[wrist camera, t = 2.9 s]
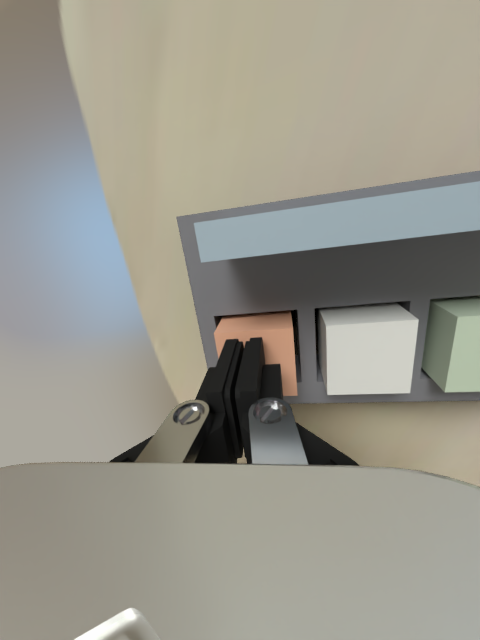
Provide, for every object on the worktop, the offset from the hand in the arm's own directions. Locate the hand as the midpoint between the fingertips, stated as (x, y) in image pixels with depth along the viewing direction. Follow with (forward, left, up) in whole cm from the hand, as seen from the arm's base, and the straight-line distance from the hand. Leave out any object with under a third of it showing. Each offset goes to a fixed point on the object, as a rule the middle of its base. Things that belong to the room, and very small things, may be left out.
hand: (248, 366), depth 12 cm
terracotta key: (0, 0, -3) cm, 3 cm away
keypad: (-5, -2, -5) cm, 7 cm away
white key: (-5, 0, -3) cm, 6 cm away
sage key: (-10, 0, -3) cm, 11 cm away
